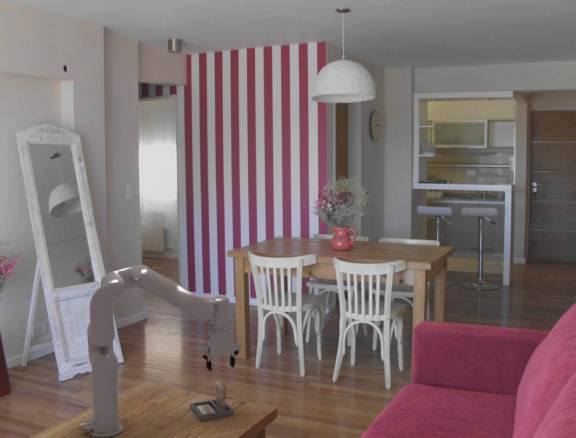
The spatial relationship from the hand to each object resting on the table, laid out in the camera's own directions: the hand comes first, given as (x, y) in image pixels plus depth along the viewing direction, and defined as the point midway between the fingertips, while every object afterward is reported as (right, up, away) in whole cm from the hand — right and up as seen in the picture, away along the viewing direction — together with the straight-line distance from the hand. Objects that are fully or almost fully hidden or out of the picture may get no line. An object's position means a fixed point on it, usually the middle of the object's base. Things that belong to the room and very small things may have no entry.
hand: (220, 368), depth 266 cm
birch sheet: (0, -18, +2) cm, 19 cm away
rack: (-3, -19, +1) cm, 19 cm away
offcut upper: (-6, -18, -1) cm, 19 cm away
